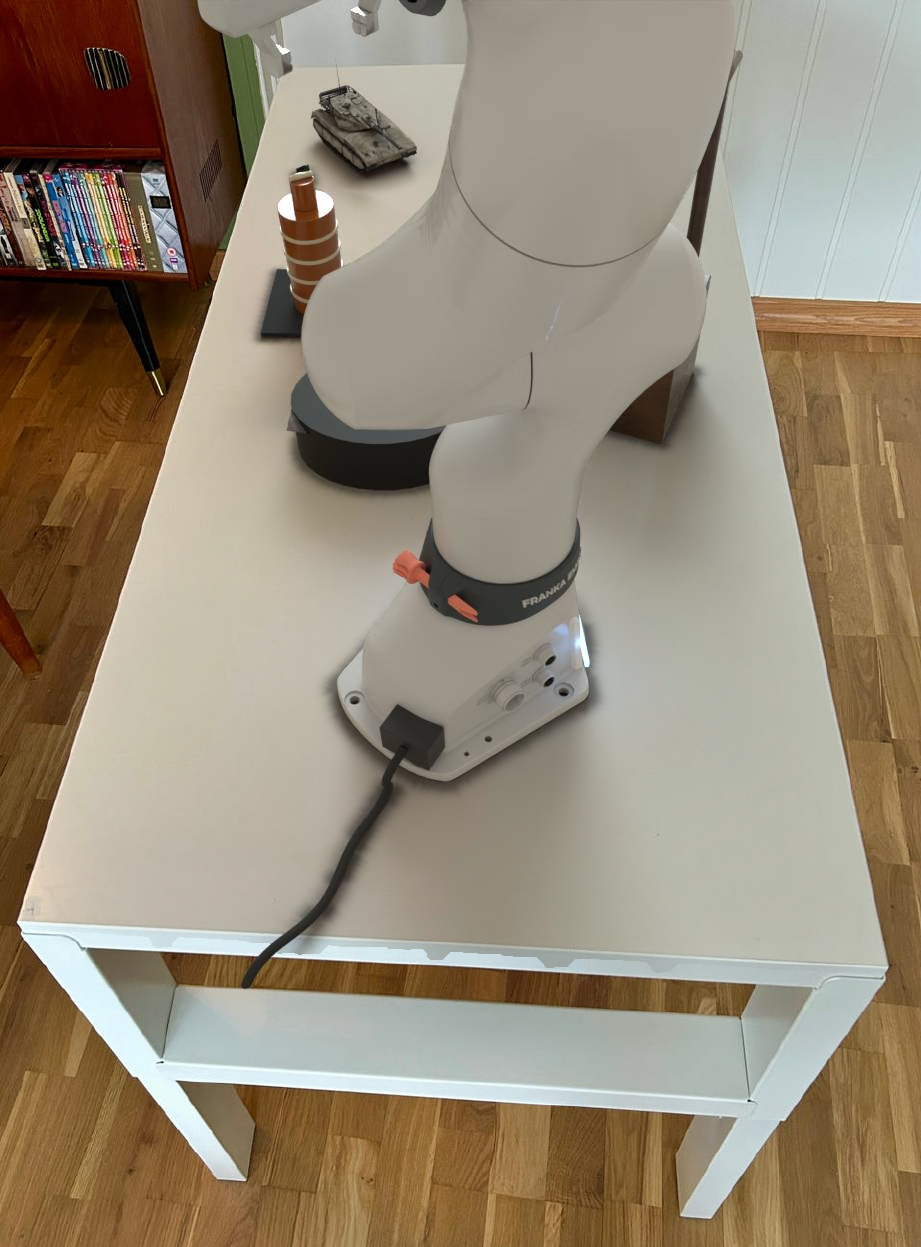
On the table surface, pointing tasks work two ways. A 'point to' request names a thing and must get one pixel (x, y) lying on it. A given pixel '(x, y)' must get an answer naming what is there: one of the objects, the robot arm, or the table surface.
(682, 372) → the hanger rack
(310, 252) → the brown banded bottle
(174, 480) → the table surface
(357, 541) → the table surface
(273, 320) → the rubber mat
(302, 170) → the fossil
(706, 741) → the table surface
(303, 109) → the table surface
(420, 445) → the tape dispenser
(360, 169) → the toy tank
